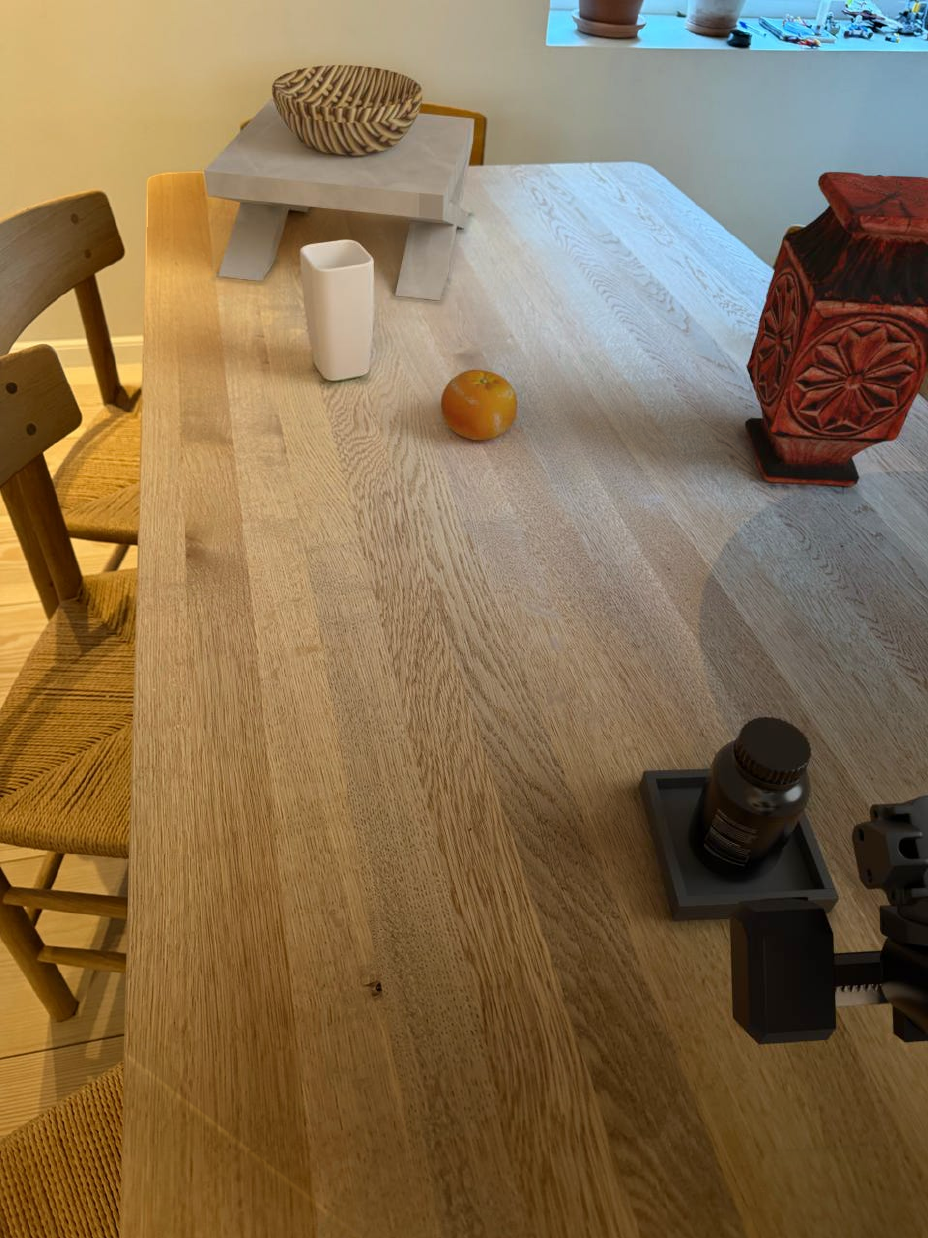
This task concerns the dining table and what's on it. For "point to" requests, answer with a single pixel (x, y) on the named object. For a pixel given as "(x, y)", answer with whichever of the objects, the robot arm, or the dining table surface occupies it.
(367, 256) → the cup
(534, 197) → the dining table surface
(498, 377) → the fruit
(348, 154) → the grey stand with bowl
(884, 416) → the vase
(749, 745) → the supplement bottle
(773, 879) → the black tray
